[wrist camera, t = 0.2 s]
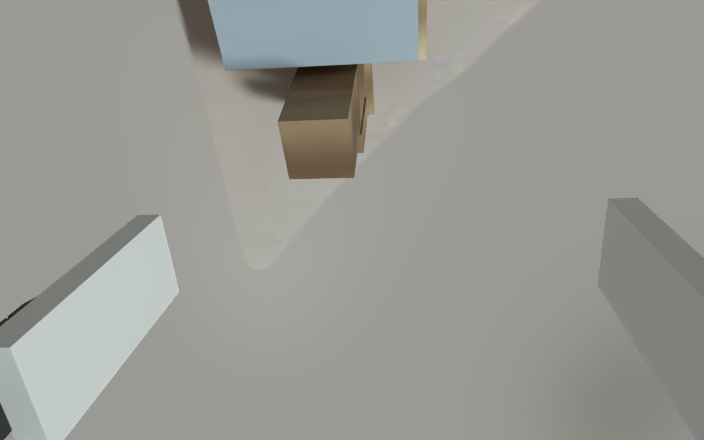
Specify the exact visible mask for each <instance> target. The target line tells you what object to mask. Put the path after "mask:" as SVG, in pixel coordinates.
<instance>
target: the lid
mask: <svg viewBox="0 0 704 440" xmlns="http://www.w3.org/2000/svg"><path fill="white" fill-rule="evenodd" d="M208 4H209V8H210V12H211V16H212V20H213V24H214V27H215V31H216V35H217V39H218V43H219V47H220V51H221V55H222V59H223V63H224V67H225V71H229V70H249V69H268V68H288V67H307V66H327V65H346V64H366V63H385V62H405V61H419V50H418V0H208Z"/></svg>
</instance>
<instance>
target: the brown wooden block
mask: <svg viewBox="0 0 704 440" xmlns="http://www.w3.org/2000/svg"><path fill="white" fill-rule="evenodd" d="M365 91H366V84H365V71H364V64H346V65H327V66H307V67H298V70H297V72H296V75H295V78H294V80H293V83H292V85H291V88H290V91H289V93H288V96H287V99H286V101H285V104H284V107H283V109H282V112H281V114H280V117H279V120H278V125H279V130H280V135H281V140H282V145H283V150H284V155H285V160H286V165H287V170H288V175H289V179H316V178H354V173H355V166H356V158H357V151H358V143H359V136H360V128H361V121H362V113H363V106H364V98H365Z"/></svg>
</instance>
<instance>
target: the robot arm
mask: <svg viewBox="0 0 704 440" xmlns="http://www.w3.org/2000/svg"><path fill="white" fill-rule="evenodd" d="M598 286H599V288H600V290H601V291H602V292H603V294H604V296H605V297H606V299H607V300H608V302H609V304H610V305H611V307H612V308H613V310H614V311H615V313H616V315H617V316H618V318H619V319H620V321H621V323H622V324H623V326H624V327H625V329H626V330H627V332H628V334H629V335H630V337H631V338H632V340H633V341H634V343H635V345H636V346H637V348H638V349H639V351H640V352H641V354H642V355H643V357H644V359H645V360H646V362H647V363H648V365H649V366H650V368H651V370H652V371H653V373H654V374H655V376H656V378H657V379H658V380H659V382H660V384H661V385H662V387H663V389H664V390H665V392H666V393H667V395H668V396H669V398H670V399H671V401H672V403H673V404H674V406H675V407H676V409H677V410H678V412H679V414H680V415H681V417H682V418H683V420H684V421H685V423H686V425H687V426H688V428H689V429H690V431H691V433H692V434H693V436H694V437H695V439H696V440H704V258H703V257H702V256H701V255H700V254H699V253H698V252H697V251H695V250H694V249H693V248H692V247H691V246H690V245H689V244H688V243H687V242H686V241H684V240H683V239H682V238H681V237H680V236H679V235H678V234H677V233H676V232H675V231H673V230H672V229H671V228H670V227H669V226H668V225H667V224H666V223H665V222H663V221H662V220H661V219H660V218H659V217H658V216H657V215H656V214H655V213H654V212H652V211H651V210H650V209H649V208H648V207H647V206H646V205H645V204H644V203H642V201H640V200H639V199H638V198H618V199H608V204H607V213H606V221H605V229H604V238H603V246H602V254H601V263H600V271H599V280H598ZM178 292H179V289H178V285H177V281H176V276H175V272H174V268H173V264H172V260H171V255H170V252H169V247H168V243H167V239H166V235H165V231H164V227H163V222H162V218H161V215H138V216H136V217H135V218H133V219H132V220H131V221H130V222H129V223H127V224H126V225H125V226H124V227H122V228H121V229H120V230H119V231H118V232H116V233H115V234H114V235H113V236H111V237H110V238H109V239H108V240H106V241H105V242H104V243H103V244H102V245H100V246H99V247H98V248H97V249H95V250H94V251H93V252H92V253H90V254H89V255H88V256H87V257H85V258H84V259H83V260H82V261H80V262H79V263H78V264H77V265H76V266H74V267H73V268H72V269H71V270H69V271H68V272H67V273H66V274H64V275H63V276H62V277H61V278H59V279H58V280H57V281H56V282H55V283H53V284H52V285H51V286H50V287H48V288H47V289H46V290H45V291H43V292H42V293H41V294H40V295H38V296H37V297H35V298H33V299H32V300H30V301H28V302H26V303H24V304H23V305H21V306H20V307H19V308H18V309H16V310H15V311H14V312H13V313H11V314H10V315H9V316H8V318H6V319H4V320H3V321H1V322H0V440H4V439H5V438H6V437H7V435H8V434H9V433H10V432H12V435H13V437H14V439H15V440H64V439H65V438H66V436H67V435H68V434H69V433H70V431H71V430H72V429H73V427H74V426H75V425H76V423H77V422H78V421H79V420H80V418H81V417H82V416H83V415H84V413H85V412H86V411H87V409H88V408H89V407H90V406H91V404H92V403H93V402H94V400H95V399H96V398H97V397H98V395H99V394H100V393H101V391H102V390H103V389H104V388H105V386H106V385H107V384H108V382H109V381H110V380H111V378H112V377H113V376H114V375H115V373H116V372H117V371H118V370H119V368H120V367H121V366H122V364H123V363H124V362H125V361H126V359H127V358H128V357H129V355H130V354H131V353H132V352H133V350H134V349H135V348H136V346H137V345H138V344H139V343H140V341H141V340H142V339H143V337H144V336H145V335H146V334H147V332H148V331H149V330H150V328H151V327H152V326H153V325H154V323H155V322H156V321H157V319H158V318H159V317H160V316H161V314H162V313H163V312H164V310H165V309H166V308H167V307H168V305H169V304H170V303H171V302H172V300H173V299H174V297H175V296H176V295H177V294H178Z"/></svg>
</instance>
